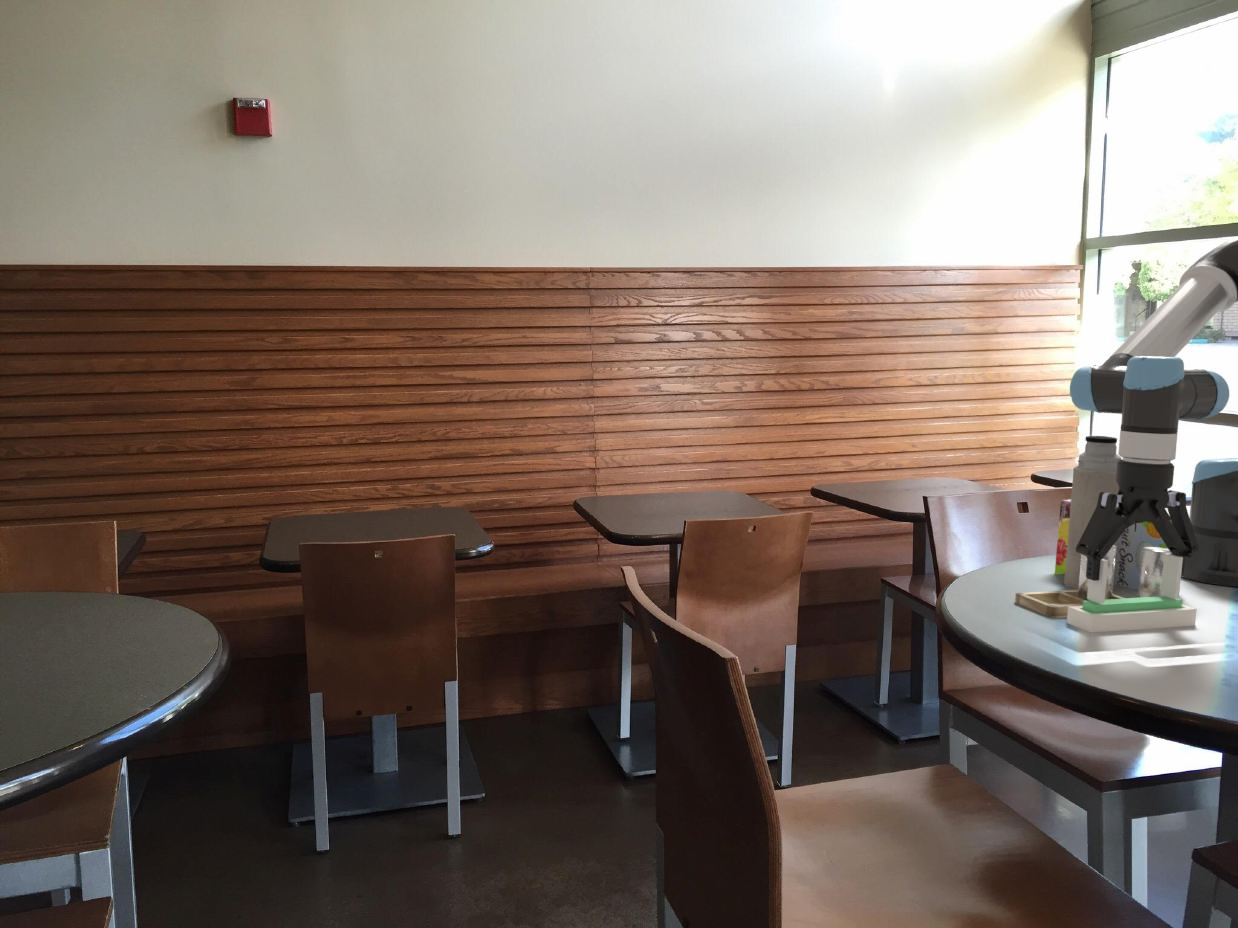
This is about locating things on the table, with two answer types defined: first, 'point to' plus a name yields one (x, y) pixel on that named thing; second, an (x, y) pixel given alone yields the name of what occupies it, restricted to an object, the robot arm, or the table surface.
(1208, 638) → the table surface
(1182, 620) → the housing
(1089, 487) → the thermos bottle
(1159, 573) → the billet
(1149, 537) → the snack box
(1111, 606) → the green rectangular bar
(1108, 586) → the cylinder
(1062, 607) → the wooden divided tray
